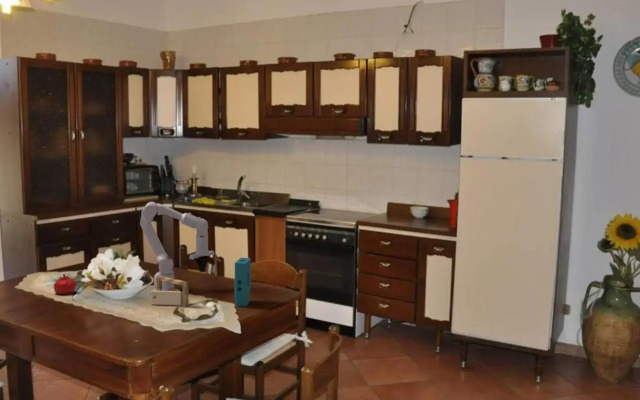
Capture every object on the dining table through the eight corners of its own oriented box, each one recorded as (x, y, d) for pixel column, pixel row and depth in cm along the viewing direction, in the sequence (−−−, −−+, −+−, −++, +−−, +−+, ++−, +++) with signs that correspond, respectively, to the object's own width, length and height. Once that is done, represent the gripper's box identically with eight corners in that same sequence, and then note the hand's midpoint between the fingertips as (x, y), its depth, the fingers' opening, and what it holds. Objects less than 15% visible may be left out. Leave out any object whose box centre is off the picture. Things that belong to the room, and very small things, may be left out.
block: (245, 307, 269) (245, 263, 267) (234, 307, 270) (234, 263, 268) (250, 300, 281) (251, 258, 279) (240, 299, 282) (240, 257, 280)
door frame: (156, 299, 279) (156, 276, 278) (159, 298, 281) (159, 275, 279) (185, 307, 268) (185, 282, 267) (188, 306, 270) (188, 282, 269)
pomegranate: (71, 296, 282) (71, 277, 281) (50, 295, 282) (49, 276, 281) (80, 290, 292) (79, 271, 291) (59, 289, 292) (59, 271, 291)
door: (150, 304, 270) (149, 291, 269) (151, 303, 272) (151, 290, 271) (183, 306, 269) (183, 292, 268) (184, 304, 271) (184, 291, 270)
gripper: (196, 247, 286) (196, 275, 288) (218, 243, 298) (218, 270, 300) (186, 245, 290) (186, 273, 292) (208, 241, 302) (208, 268, 304)
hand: (202, 271), depth 296 cm, fingers closed
